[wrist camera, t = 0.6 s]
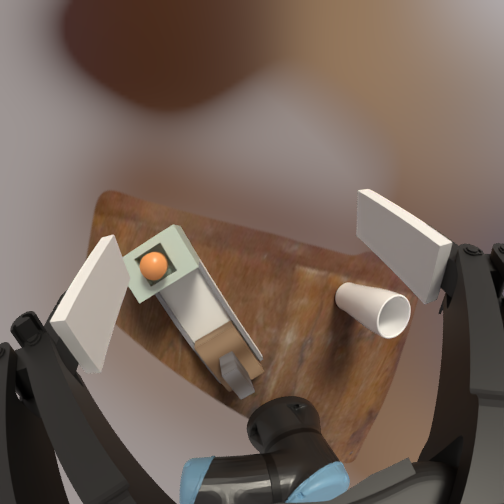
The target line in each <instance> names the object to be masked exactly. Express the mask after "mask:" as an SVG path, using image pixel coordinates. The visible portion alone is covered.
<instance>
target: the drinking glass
mask: <svg viewBox="0 0 504 504" xmlns="http://www.w3.org/2000/svg"><path fill="white" fill-rule="evenodd" d="M335 301H336V304H337V306H338V307H339V308H340V309H342V310H343V311H345V312H346V313H348V314H349V315H350V316H352V317H353V318H354V319H356V320H357V321H358V322H359V323H361V324H362V325H363V326H365V327H366V328H367V329H369V330H370V331H372V332H374V333H376V334H378V335H380V336H382V337H384V338H394V337H396V336H397V335H399V334H400V333H401V332H402V331H403V330H404V329H405V327H406V325H407V323H408V321H409V318H410V304H409V301H408V300H407V298H406V297H404V296H403V295H400V294H398V293H395V292H393V291H389V290H386V289H381V288H375V287H369V286H364V285H358V284H355V283H351V282H348V283H344V284H343V285H341V286H340V287H339V288H338V290H337V292H336V295H335Z"/></svg>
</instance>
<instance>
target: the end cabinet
mask: <svg viewBox="0 0 504 504" xmlns="http://www.w3.org/2000/svg"><path fill="white" fill-rule="evenodd" d="M151 252H161V253H162V254H164V255H165V256H166V258H167V260H168V270H167V272H166V273H165V274H164V275H163V276H162V277H161V278H160V279H158V280H149V279H147V278H145V277H144V276H143V275H142V273H141V271H140V262H141V259H142V258H143V257H144V256H145V255H146V254H149V253H151ZM122 258H123V261H124V263H125V266H126V268H127V271H128V273H129V276H130V278H131V279H130V282H129V284H128V286H129V288H130V289H131V291H132V292H133V294H134V296H135V297H136V299H137V300H138V302H139V303H141V302H143V301H144V300H146V299H148V298H149V297H151V296H152V295H154V294H156V293H157V292H159V291H160V290H162V289H164V288H165V287H167V286H168V285H170V284H172V283H173V282H175V281H176V280H178V279H180V278H181V277H183V276H185V275H186V274H188V273H189V272H191V271H193V270H194V269H196V268H198V267H199V259H200V258H199V257H198V255H197V253H196V252H195V250H194V248H193V247H192V245H191V243H190V242H189V240H188V238H187V237H186V235H185V233H184V232H183V230H182V228H181V226H177V225H172V226H170V227H169V228H167V229H165V230H164V231H162V232H161V233H159V234H157V235H156V236H154V237H153V238H151V239H150V240H148V241H147V242H145V243H144V244H142V245H140V246H139V247H137V248H136V249H134V250H133V251H131V252H130V253H128V254H127V255H125V256H124V257H122Z"/></svg>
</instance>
